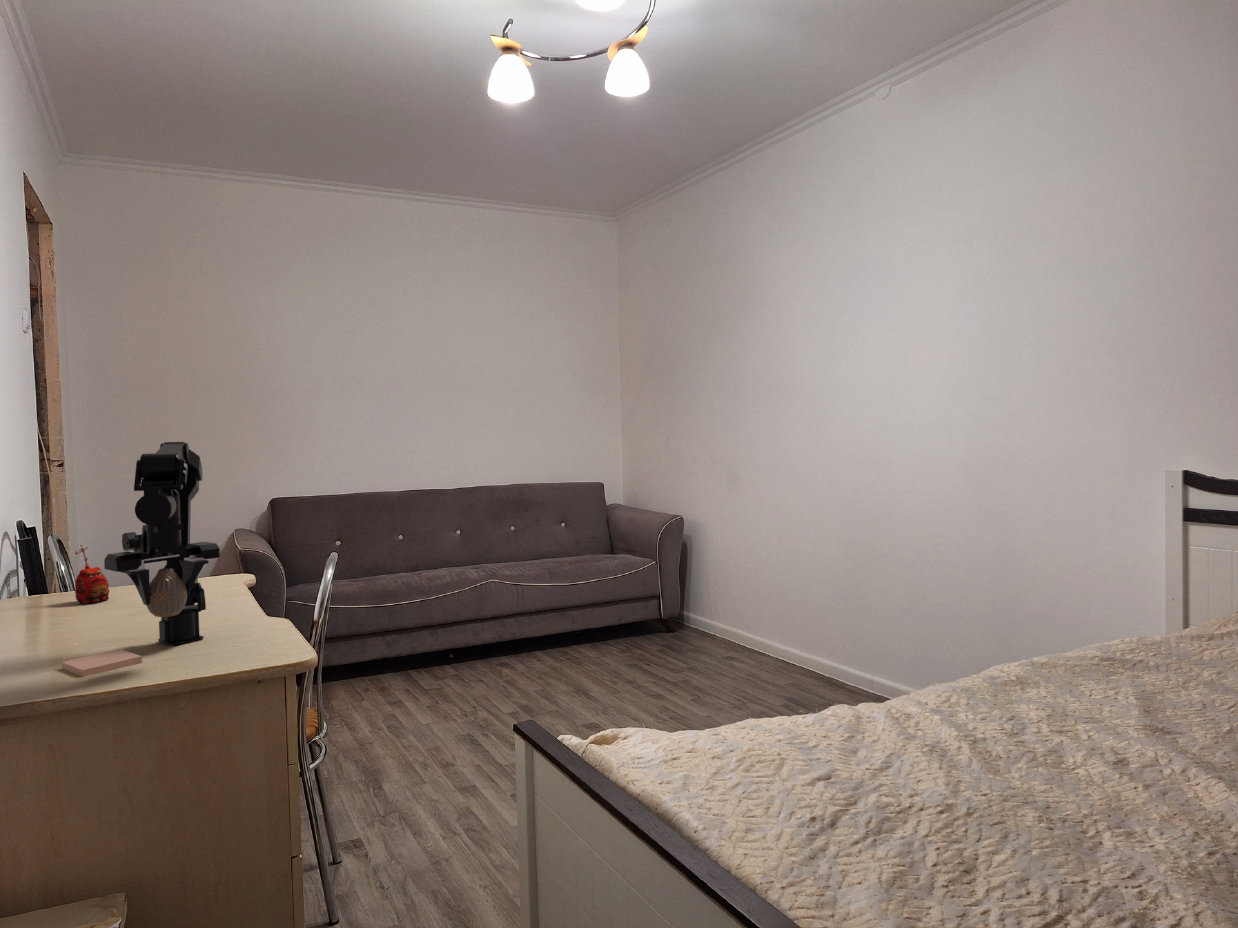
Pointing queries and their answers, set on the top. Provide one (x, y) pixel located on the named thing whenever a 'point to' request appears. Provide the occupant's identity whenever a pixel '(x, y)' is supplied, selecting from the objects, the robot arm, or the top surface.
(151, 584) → the vase
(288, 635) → the top surface
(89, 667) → the tile
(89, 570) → the red clay folk toy
